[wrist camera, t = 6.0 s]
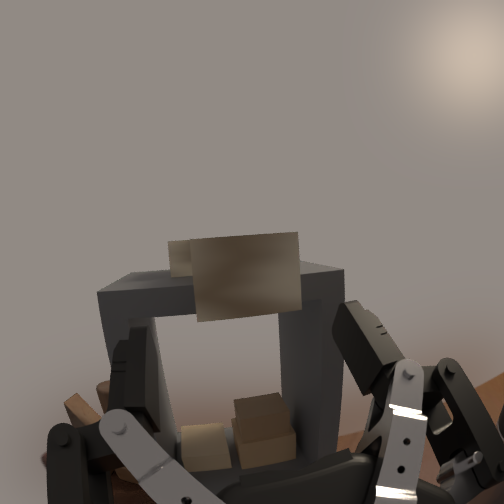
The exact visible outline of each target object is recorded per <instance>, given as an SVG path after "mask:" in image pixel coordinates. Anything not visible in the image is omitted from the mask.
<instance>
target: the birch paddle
mask: <svg viewBox="0 0 504 504" xmlns="http://www.w3.org/2000/svg"><path fill="white" fill-rule="evenodd" d="M168 248H169V261H170V272H171V278H172V277H184V276H193V285H194V295H195V304H196V314H197V322H204V321H215V320H225V319H234V318H243V317H250V316H259V315H267V314H275V313H282V312H289V311H296V310H302V301H301V278H300V259H299V242H298V232H288V233H273V234H258V235H243V236H230V237H215V238H203V239H190V240H183V241H169V242H168Z"/></svg>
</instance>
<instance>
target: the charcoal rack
mask: <svg viewBox="0 0 504 504" xmlns="http://www.w3.org/2000/svg"><path fill="white" fill-rule="evenodd" d="M300 278H301V301H302V310H296V311H289V312H282V313H278V318H279V338H280V361H281V387H282V397H281V396H280V394H279V393H273V394H267V395H261V396H255V397H249V398H242V399H235V400H234V407H235V414H236V418H234V419H231V421H232V427H229V428H224V427H223V423H214V424H204V425H192V426H182V427H181V432H177V429H176V425H175V421H174V417H173V413H172V409H171V404H170V400H169V395H168V391H167V386H166V382H165V377H164V371H163V367H162V361H161V356H160V350H159V344H158V338H157V332H156V325H155V319H154V317H163V316H175V315H188V314H196V304H195V295H194V285H193V276H184V277H172V278H171V272H170V270H160V271H148V272H134V273H130V274H128V275H126V276H124V277H123V278H121V279H119V280H117V281H115V282H114V283H112V284H110V285H108V286H106V287H105V288H103V289H101V290H99V291H98V292H97V296H98V303H99V310H100V316H101V321H102V327H103V332H104V337H105V342H106V347H107V351H108V356H109V360H110V365H111V366H112V357H113V350H114V348H115V347H116V345H117V343H118V342H119V340H129V331H130V327H131V326H144V325H149V327H150V330H151V333H152V337H153V340H154V343H155V346H156V350H157V356H158V385H159V411H160V429H161V432H158V433H154V440H155V441H156V442H157V443H158V444H159V445H160V446H161V448H162V449H163V450H164V451H165V452H166V453H167V454H168V455H169V456H171V457H172V458H173V459H174V460H176V461H177V462H178V463H179V464H180V465H181V466H182V467H183V468H184V469H185V470H186V471H187V472H189V473H190V474H191V475H192V476H193V477H194V478H195V479H196V480H197V481H199V482H200V483H201V484H202V485H203V486H204V487H206V488H207V489H208V490H209V491H210V492H212V493H213V494H214V495H216V494H217V493H218V492H219V491H220V490H222V489H223V488H225V487H226V486H227V485H229V484H231V483H233V482H236V481H238V480H239V476H241V475H247V474H253V473H258V472H264V471H295V470H300V469H303V468H304V467H306V466H308V465H310V464H312V463H313V462H315V461H317V460H319V459H320V458H322V457H324V456H326V455H330V454H333V453H336V449H337V441H338V432H339V422H340V410H341V399H342V385H343V366H344V358H343V356H342V354H341V352H340V350H339V349H338V347H337V345H336V343H335V341H334V339H333V336H332V325H333V322H334V319H335V316H336V313H337V310H338V307H339V304H340V303H343V302H345V288H344V269H339V268H335V267H330V266H324V265H319V264H314V263H309V262H304V261H300Z"/></svg>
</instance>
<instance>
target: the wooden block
mask: <svg viewBox="0 0 504 504" xmlns="http://www.w3.org/2000/svg"><path fill="white" fill-rule="evenodd" d="M109 385H110V381H104V382H102V383H100V384H98V385H97V388H96V390H97V394H98V397H99V400H100V403H101V406H102V409H103V412H104V414H105V413H106V411H107V408H108V397H109ZM64 405H65V408H66V411H67V413H68V416H69V418H70V421H71V423H72V426H73V427H75V428H78V427H82V426H86V425H89V424H93V423H95V422H97V421H99V420H100V419H101V418H102V417H101V416H99V415H98V414H97V413H96V412H95V411H94V410H93V409H92V408H91V407H90V406H89V405H88V404H87V403H86V402H85V401H84V400H83V399H82V398H81V397H80V395H79V394H78V393H76V394H75V395H73V396H72V397H70V398H69V399H68V400H66V401H65V402H64ZM114 470H115V471H116V473H117V475H118V477H119V479H121V480H125V481H128V482H131V483H135V484H138V485H139V483H138V481H137V479H136V478H135V477H134V476H133V475H132V473H131V472H130V471H129V470H128V469H127V468H126V466H125V467H121V468H118V469H114ZM114 470H110V473H111V474H112V473H113V472H114Z"/></svg>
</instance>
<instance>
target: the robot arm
mask: <svg viewBox="0 0 504 504" xmlns="http://www.w3.org/2000/svg"><path fill="white" fill-rule="evenodd" d="M332 336H333V339H334V341H335V343H336V345H337V347H338V349H339V350H340V352H341V354H342V356H343V358H344V360H345V362H346V364H347V366H348V367H349V370H350V371H351V373H352V375H353V377H354V379H355V381H356V383H357V385H358V387H359V389H360V391H361V393H362V394H363V396H365V395H368V394H370V393H372V394H373V396H374V397H373V399H372V402H371V406H370V411H369V415H368V419H367V423H366V427H365V431H364V434H363V436H362V439H361V440H360V442H359V444H358V446H357V448H356V451H355V453H351V452H350V450H349V448H347V449H344V450H342V451H339V452H336V453H333V454H330V455H326V456H324V457H322V458H320V459H319V460H317V461H315V462H313V463H312V464H310V465H308V466H306V467H304V468H303V469H300V470H295V471H264V472H258V473H253V474H247V475H241V476H239V480H238V481H236V482H233V483H231V484H229V485H227V486H226V487H225V488H223V489H222V490H220V491H219V492H218V493H217V494H216V495H214V494H213V493H212V492H210V491H209V490H208V489H207V488H206V487H204V486H203V485H202V484H201V483H200V482H199V481H197V480H196V479H195V478H194V477H193V476H192V475H191V474H190V473H189V472H187V471H186V470H185V469H184V468H183V467H182V466H181V465H180V464H179V463H178V462H177V461H176V460H174V459H173V458H172V457H171V456H169V455H168V454H167V453H166V452H165V451H164V450H163V449H162V448H161V446H160V445H159V444H158V443H157V442H156V441H155V440H154V433H158V432H161V429H160V411H159V385H158V356H157V350H156V346H155V343H154V340H153V337H152V333H151V330H150V327H149V325H144V326H131V327H130V331H129V340H119V342H118V343H117V345H116V347H115V348H114V350H113V357H112V366H111V375H110V385H109V397H108V408H107V411H106V413H105V414H104V415H103V417H102V418H101V419H100V420H99V421H97V422H95V423H93V424H89V425H86V426H82V427H78V428H75V427H73V426H72V425H70V424H67V423H60V424H57V425H55V426H54V427H52V429H51V430H50V431H49V434H48V439H47V496H48V504H114V499H113V492H112V483H111V473H110V470H114V469H118V468H121V467H125V466H126V468H127V469H128V470H129V471H130V472H131V473H132V475H133V476H134V477H135V478H136V479H137V481H138V483H139V485H140V486H141V487H142V488H143V490H144V491H145V492H146V493H147V494H148V495H149V496H150V497H151V498H152V499H153V500H154V501H155V502H156V503H157V504H504V405H503V408H502V411H501V413H500V416H499V419H498V421H497V424H496V426H495V425H494V423H493V421H492V419H491V417H490V415H489V413H488V412H487V410H486V408H485V406H484V404H483V403H482V401H481V399H480V397H479V396H478V394H477V392H476V391H475V389H474V387H473V386H472V384H471V382H470V381H469V379H468V377H467V376H466V374H465V373H464V371H463V369H462V368H461V366H460V365H459V364H458V363H457V361H455V360H454V359H451V358H443V359H441V360H440V362H439V363H438V364H437V366H420V365H419V364H418V363H417V362H416V361H413V360H411V359H405V357H404V356H403V354H402V353H401V351H400V350H399V348H398V347H397V345H396V344H395V342H394V341H393V339H392V338H391V337H390V335H389V334H388V333H387V331H386V329H385V328H384V327H383V325H382V323H381V322H380V321H379V319H378V318H377V317H376V316H375V315H374V314H373V313H372V312H370V311H369V310H364V308H363V307H362V306H361V304H360V303H359V302H358V301H357V300H354V301H349V302H343V303H340V304H339V307H338V310H337V313H336V316H335V319H334V322H333V325H332ZM443 398H444V399H445V401H446V403H447V404H448V406H449V408H450V410H451V412H452V414H453V421H452V420H451V418H450V416H449V414H448V412H447V410H446V408H445V406H444V405H443V403H442V401H441V400H442V399H443ZM425 436H427V438H428V440H429V442H430V445H431V447H432V449H433V451H434V454H435V456H436V458H437V460H438V463H439V465H440V467H441V468H440V472H439V474H438V476H437V478H436V480H437V482H438V483H439V484H440V487H437V486H435V485H433V484H430V483H428V482H426V481H424V480H421V479H419V478H418V477H419V473H420V467H421V462H422V456H423V450H424V443H425Z"/></svg>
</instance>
